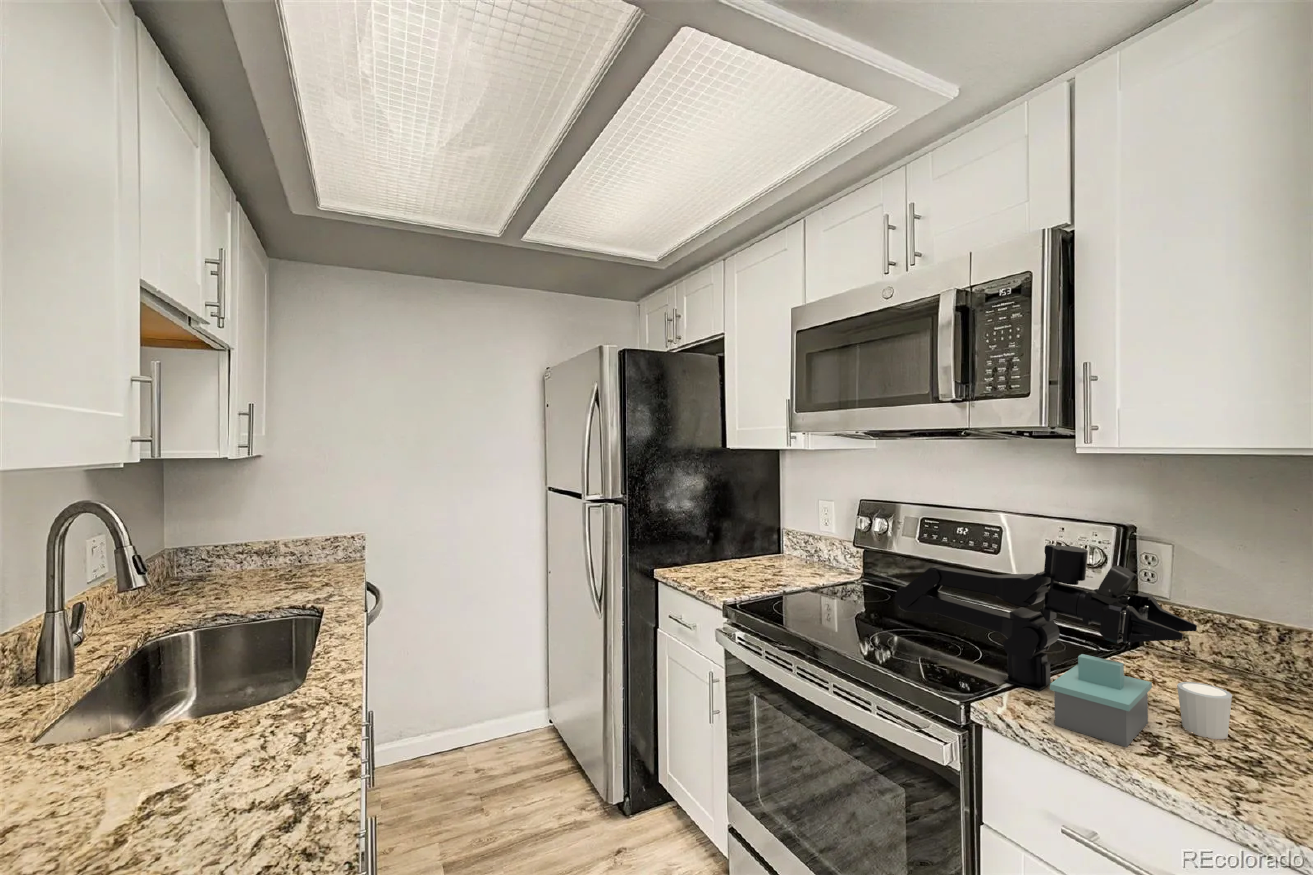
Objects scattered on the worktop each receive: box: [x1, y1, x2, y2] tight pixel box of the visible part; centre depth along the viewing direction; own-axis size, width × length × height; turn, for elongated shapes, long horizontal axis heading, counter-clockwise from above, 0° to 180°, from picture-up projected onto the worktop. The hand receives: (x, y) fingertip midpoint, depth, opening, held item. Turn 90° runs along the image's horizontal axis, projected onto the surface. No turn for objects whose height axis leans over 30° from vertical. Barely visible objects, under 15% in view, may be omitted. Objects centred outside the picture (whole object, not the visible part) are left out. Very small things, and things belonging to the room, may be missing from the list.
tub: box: [1053, 691, 1149, 748], centre depth 104 cm, size 10×13×6 cm
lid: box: [1049, 653, 1153, 711], centre depth 104 cm, size 11×14×6 cm
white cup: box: [1176, 681, 1233, 740], centre depth 101 cm, size 7×7×7 cm
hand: (1189, 632), depth 102 cm, fingers open, 9 cm apart
